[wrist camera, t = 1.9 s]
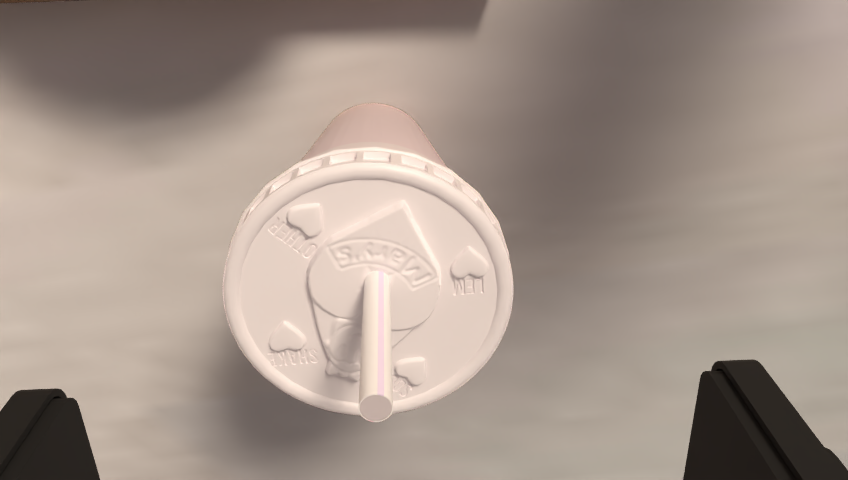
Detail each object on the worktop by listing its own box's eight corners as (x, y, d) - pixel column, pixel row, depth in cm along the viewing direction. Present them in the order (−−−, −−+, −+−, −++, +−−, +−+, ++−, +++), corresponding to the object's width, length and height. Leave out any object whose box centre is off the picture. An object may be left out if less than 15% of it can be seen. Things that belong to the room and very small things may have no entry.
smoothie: (497, 96, 24) (626, 322, 11) (433, 264, 26) (480, 603, 14) (305, 33, 23) (209, 205, 10) (257, 215, 25) (131, 536, 13)
